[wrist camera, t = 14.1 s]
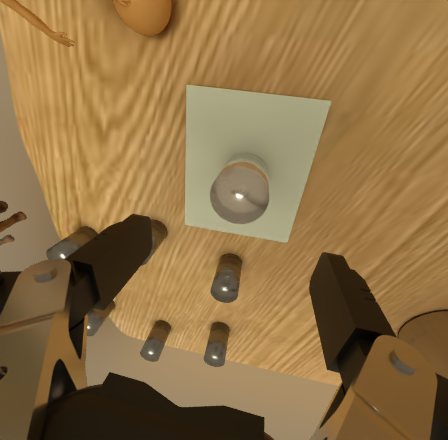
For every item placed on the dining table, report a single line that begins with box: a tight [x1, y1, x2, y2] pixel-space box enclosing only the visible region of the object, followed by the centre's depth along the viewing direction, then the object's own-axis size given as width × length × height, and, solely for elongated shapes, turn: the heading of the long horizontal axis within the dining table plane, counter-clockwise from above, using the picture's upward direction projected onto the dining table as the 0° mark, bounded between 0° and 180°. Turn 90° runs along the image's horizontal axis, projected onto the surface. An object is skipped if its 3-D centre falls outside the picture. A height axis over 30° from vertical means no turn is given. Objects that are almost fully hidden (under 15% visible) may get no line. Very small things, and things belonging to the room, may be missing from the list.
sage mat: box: [185, 85, 331, 243], centre depth 21 cm, size 12×14×1 cm
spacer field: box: [46, 220, 242, 367], centre depth 29 cm, size 23×23×5 cm
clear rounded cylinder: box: [210, 152, 269, 224], centre depth 18 cm, size 4×4×6 cm
